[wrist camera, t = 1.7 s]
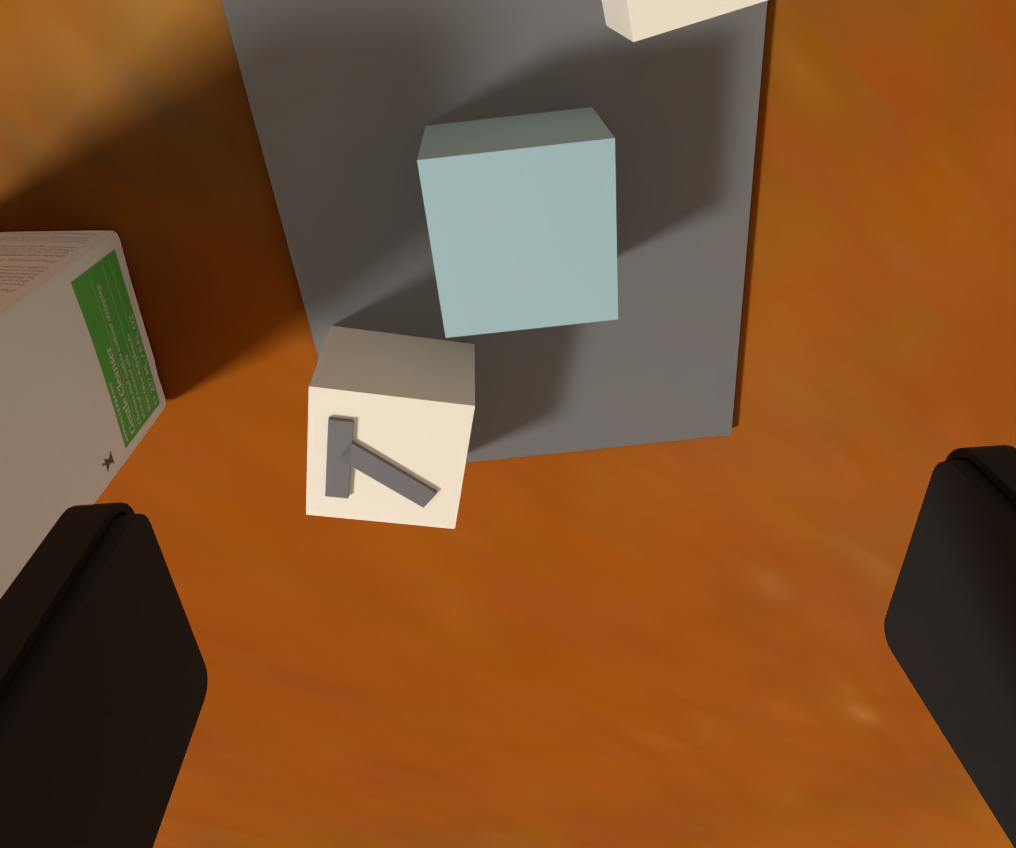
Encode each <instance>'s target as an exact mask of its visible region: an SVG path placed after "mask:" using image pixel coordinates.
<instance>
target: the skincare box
mask: <svg viewBox="0 0 1016 848" xmlns="http://www.w3.org/2000/svg"><path fill="white" fill-rule="evenodd" d="M165 406H166V400H165V396H164V393H163V389H162V386H161V383H160V380H159V378H158V373H157V369H156V365H155V360H154V356H153V353H152V350H151V346H150V343H149V340H148V336H147V333H146V330H145V326H144V323H143V320H142V316H141V313H140V309H139V306H138V303H137V299H136V296H135V292H134V289H133V285H132V282H131V278H130V275H129V271H128V267H127V264H126V260H125V256H124V253H123V249H122V245H121V241H120V238H119V236H118V234H117V233H116V232H115V231H105V230H87V231H22V232H0V599H1V597H2V596H3V595H4V593H5V592H6V590H7V589H8V588H9V586H10V585H11V584H12V582H13V581H14V579H15V578H16V577H17V575H18V574H19V573H20V571H21V570H22V568H23V567H24V566H25V564H26V563H27V562H28V560H29V559H30V557H31V556H32V555H33V553H34V552H35V551H36V549H37V548H38V547H39V545H40V544H41V542H42V541H43V540H44V538H45V537H46V536H47V534H48V533H49V531H50V530H51V529H52V527H53V526H54V525H55V523H56V522H57V520H58V519H59V518H60V516H61V515H62V514H63V513H64V512H65V511H66V510H67V509H68V508H69V507H72V506H75V505H91V504H95V502H96V501H97V499H98V498H99V497H100V495H101V494H102V492H103V491H104V490H105V488H106V487H107V486H108V485H109V483H110V481H111V480H112V479H113V477H114V476H115V475H116V473H117V472H118V471H119V469H120V468H121V467H122V465H123V464H124V463H125V461H126V460H127V459H128V457H129V456H130V455H131V453H132V452H133V451H134V449H135V448H136V446H137V445H138V444H139V442H140V441H141V440H142V438H143V437H144V436H145V434H146V433H147V432H148V430H149V429H150V427H151V426H152V424H153V423H154V422H155V421H156V419H157V418H158V417H159V415H160V414H161V413H162V411H163V410H164V408H165Z"/></svg>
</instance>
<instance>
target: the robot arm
mask: <svg viewBox="0 0 1016 848" xmlns="http://www.w3.org/2000/svg"><path fill="white" fill-rule="evenodd" d="M884 630H885V636H886V640H887V643H888V645H889V647H890V649H891V651H892V653H893V654H894V656H895V658H896V659H897V661H898V662H899V664H900V666H901V667H902V669H903V670H904V672H905V674H906V675H907V677H908V678H909V680H910V682H911V683H912V685H913V686H914V688H915V690H916V691H917V693H918V694H919V696H920V698H921V699H922V701H923V702H924V704H925V705H926V707H927V709H928V710H929V712H930V713H931V715H932V717H933V718H934V720H935V721H936V723H937V725H938V726H939V728H940V729H941V731H942V733H943V734H944V736H945V737H946V739H947V741H948V742H949V744H950V745H951V747H952V749H953V750H954V752H955V753H956V755H957V757H958V758H959V760H960V761H961V763H962V765H963V766H964V768H965V769H966V771H967V773H968V774H969V776H970V777H971V779H972V781H973V782H974V784H975V785H976V787H977V789H978V790H979V792H980V793H981V795H982V797H983V798H984V800H985V801H986V803H987V805H988V806H989V808H990V809H991V811H992V813H993V814H994V816H995V817H996V819H997V821H998V822H999V824H1000V825H1001V827H1002V829H1003V830H1004V832H1005V833H1006V835H1007V837H1008V838H1009V840H1010V841H1011V843H1012V845H1013V846H1014V848H1016V448H1014V447H1012V446H1006V445H999V446H984V447H969V448H959V449H956V450H953V451H952V452H951V453H950V454H949V455H948V457H947V459H946V461H943V462H940V463H939V464H938V465H937V466H936V467H935V469H934V471H933V473H932V476H931V479H930V482H929V485H928V488H927V491H926V494H925V497H924V500H923V504H922V507H921V510H920V513H919V516H918V519H917V522H916V525H915V528H914V531H913V534H912V537H911V540H910V543H909V547H908V550H907V553H906V556H905V559H904V562H903V565H902V568H901V571H900V574H899V577H898V580H897V583H896V586H895V590H894V593H893V596H892V599H891V602H890V605H889V608H888V611H887V614H886V617H885V622H884ZM206 691H207V670H206V666H205V663H204V661H203V658H202V655H201V653H200V650H199V648H198V645H197V643H196V640H195V637H194V635H193V632H192V630H191V627H190V624H189V622H188V619H187V617H186V614H185V611H184V609H183V606H182V604H181V601H180V598H179V596H178V593H177V591H176V588H175V585H174V583H173V580H172V578H171V575H170V573H169V570H168V567H167V565H166V562H165V560H164V557H163V554H162V552H161V549H160V547H159V544H158V541H157V539H156V536H155V534H154V531H153V528H152V526H151V523H150V522H149V520H148V518H147V517H146V516H145V515H143V514H135V513H134V511H133V509H132V508H131V507H130V506H129V505H128V504H125V503H106V504H91V505H75V506H72V507H69V508H68V509H67V510H66V511H65V512H64V513H63V514H62V515H61V516H60V518H59V519H58V520H57V522H56V523H55V525H54V526H53V527H52V529H51V530H50V531H49V533H48V534H47V536H46V537H45V538H44V540H43V541H42V542H41V544H40V545H39V547H38V548H37V549H36V551H35V552H34V553H33V555H32V556H31V557H30V559H29V560H28V562H27V563H26V564H25V566H24V567H23V568H22V570H21V571H20V573H19V574H18V575H17V577H16V578H15V579H14V581H13V582H12V584H11V585H10V586H9V588H8V589H7V590H6V592H5V593H4V595H3V596H2V597H1V599H0V848H152V847H153V845H154V842H155V839H156V836H157V833H158V830H159V828H160V825H161V822H162V819H163V816H164V813H165V810H166V808H167V805H168V802H169V799H170V796H171V793H172V790H173V788H174V785H175V782H176V779H177V776H178V773H179V771H180V768H181V765H182V762H183V759H184V756H185V753H186V751H187V748H188V745H189V742H190V739H191V736H192V733H193V731H194V728H195V725H196V722H197V719H198V716H199V714H200V711H201V708H202V705H203V702H204V699H205V695H206Z"/></svg>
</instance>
